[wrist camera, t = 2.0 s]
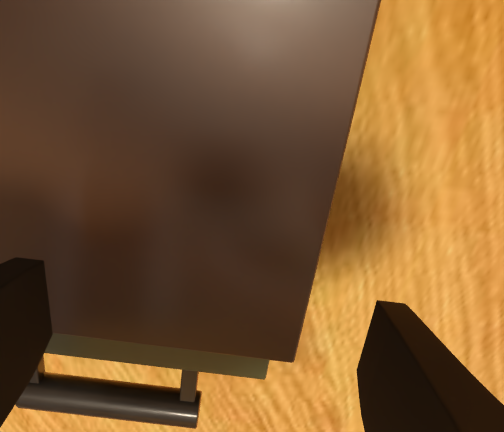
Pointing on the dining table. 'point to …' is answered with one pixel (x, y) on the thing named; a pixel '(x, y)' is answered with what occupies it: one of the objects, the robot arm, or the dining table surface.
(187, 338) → the cabinet
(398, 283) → the dining table surface
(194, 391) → the drawer
